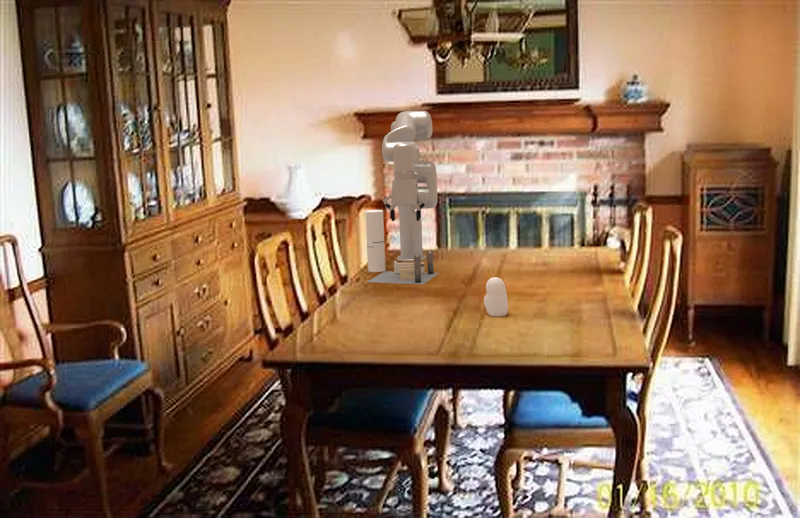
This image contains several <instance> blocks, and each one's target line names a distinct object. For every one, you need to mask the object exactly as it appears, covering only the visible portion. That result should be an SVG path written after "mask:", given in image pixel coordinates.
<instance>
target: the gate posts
mask: <svg viewBox="0 0 800 518" xmlns="http://www.w3.org/2000/svg"><path fill="white" fill-rule="evenodd" d="M421 261H422V260H421V257H420V255H415V256H414V261H413V263H414V271H415V283H421V263H422V262H421ZM426 265H427V268H426V269H427V273H428V274H434V273H435V271H434V269H435V268H434V250H427V251H426Z"/></svg>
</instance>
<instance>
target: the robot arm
mask: <svg viewBox="0 0 800 518" xmlns="http://www.w3.org/2000/svg"><path fill="white" fill-rule="evenodd" d="M433 132H434V131H433V122H432V116H431V115H430V113H429V112H428V111H426V110H408V111H407V110H405V111H401V112H400V113H398V114H397V116H396V117H395V121H392V123H391V125H390V132H388V133H387V134H386V135H384V138H383V140H382V146H381V147H382V149H381V155H382V158H383V160H384V161H385V162H390V163H391V162H393V173H394V176H393V178H394V179H392V182H391V194H390V195H388V196H387V197H385V198H382V202H383V204H384V206H385V208H387V209H388V211H389V215H390V216H389V217H390V220H391V222H394V221H396V210H395V208H396V207H397V209H398V217H399V218H398V219H399V243H400V244H399V245H400V246H399V247H400V255H397V257H396V259H397V260H396V261H397V262H398V261H399V262H414V256H415V255H420V257H421V260H420V261H423V260H427V255H425V254H423V250H424V248H423V233H422V232H423V228H422V226H423V225H422V224H423V223H422V210H423V209H424V210H425V209H434V208H436V206H437V205H438V178H437V167H436V164H435V163H434V162H433V161H432V160H420V159H419V155H420V147H419V145H418V144H417V142H414V140H428V139H430V138H431V137H432V135H433ZM418 184H425V186H424V185H422V186H418ZM389 200H391V204H390V203H389V202H388V201H389Z"/></svg>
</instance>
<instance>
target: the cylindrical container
mask: <svg viewBox="0 0 800 518" xmlns="http://www.w3.org/2000/svg"><path fill="white" fill-rule="evenodd" d="M364 212H365V233H366V234H365V235H366V251H367V252H366V255H367V257H366V259H367V272H369V273H380V272H381V273H383V272H384V271H386V250H385V248H386V247H385V226H384V224H385V223H384V210H382V209H368V210H365V211H364Z"/></svg>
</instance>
